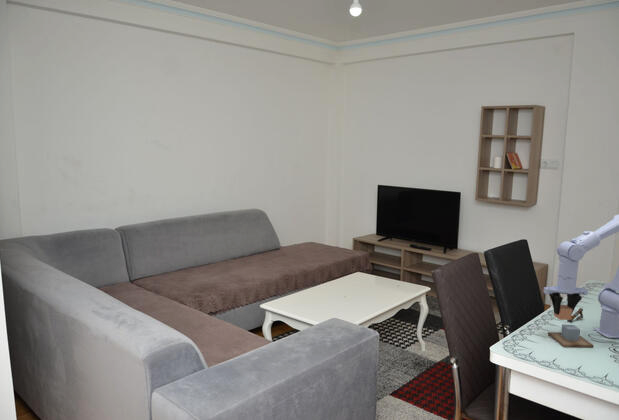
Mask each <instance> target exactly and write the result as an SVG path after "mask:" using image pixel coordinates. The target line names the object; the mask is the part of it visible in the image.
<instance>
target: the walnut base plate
mask: <svg viewBox="0 0 619 420" xmlns="http://www.w3.org/2000/svg"><path fill="white" fill-rule="evenodd" d="M547 336H549V337H550V338H551V339H553V340H554V341H555V342H556V343H558V344H559V345H560V346H561V347H563V348H573V349H574V348H575V349H576V348H577V349H582V348H583V349H585V348H587V349H593V348H594V344H593V343H591V342H589V341H588V340H587V339H585V338H584V337H583V336H581V335H580V336H579V341H573V340H566V339H565V338H564V337H562V336H561V331H560V332H559V331H558V332H557V331H554V332H553V331H548V332H547Z"/></svg>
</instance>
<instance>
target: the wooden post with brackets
mask: <svg viewBox="0 0 619 420" xmlns="http://www.w3.org/2000/svg"><path fill="white" fill-rule="evenodd" d="M583 311H584V308H583V307H579V308H578V310H577V311H575V312H573V313H572V317H571V320H566V321H567V322H569V323H573V321H574V319H575V321H580V320H581V319H584V314H583Z"/></svg>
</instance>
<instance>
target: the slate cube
mask: <svg viewBox="0 0 619 420" xmlns="http://www.w3.org/2000/svg"><path fill="white" fill-rule="evenodd" d="M560 332H561V336H562V337H564V338H565V339H566V340H573V341H579V336H581V329H580V328H579V327H578V326H576V325H575V324H562V325H561V331H560Z"/></svg>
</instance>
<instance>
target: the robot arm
mask: <svg viewBox="0 0 619 420" xmlns="http://www.w3.org/2000/svg"><path fill="white" fill-rule="evenodd" d="M617 233H619V213H618V214H615V215H614V216H613V219H611V220H610V221H608V222H607V223H606V224H604V225H602V226H601V227H599V228H598V229H596V230H594V231H592V230H588V231H587V230H585V231H582V234H580V235H579V236H577V237H575V238H574V237H573V238H572V239H571V240H570V241H568V240H566V241H563V242H562V243H560V244H559V245H558V248H556V254H557V255H558V260H559V264H558V272H557V281H556V285H555V286H546V287H545V286H544V287H543V291H542V292H543V293H544V294H545V295H549V298H550V300H551V303H552V307H553V314H554V313H555V314H557V315H559V312H560V306H561V305H562V303H563V300H564V297H563V296H561V295H566V299H567V302H566V303H567V304H566V305H567V306H569V307H570V308H572V314H574V311H575V309H576V306H577V305H578V304H579V302H580V301H582V298H583V297H582V296H581V295H584V296H588V293H589V290H588V289H587V288H585V287H576V286H577V279H578V269H579V264H580V263H579V261H581V260H582V259H583V257H584V255H585V254H586V253H587V252H589V251H591V250H593V249H594V248H596V247H598V246H600V244H601V241H602V240H604V239H606V238H608V237H610V236H612V235H614V234H617ZM597 300H598V302H599V304H600V308H601V313H600V319H599V327H593V330H594V331H596V332H597V333H599V334H600V335H601V336H604V337H605V338H608V339H619V265H618V266H617V269H616V272H615V275H614V277H613V278H612V281H610V282H608V283H605V284H604V286H603V288H602V290H600V292H598V294H597Z"/></svg>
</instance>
